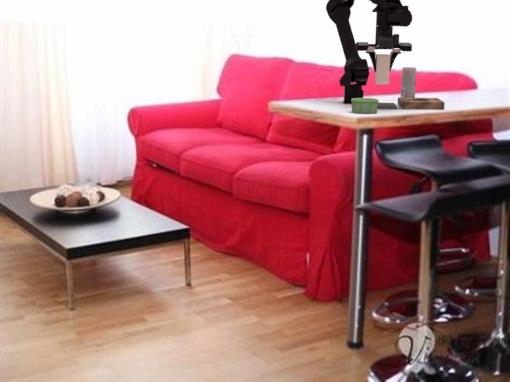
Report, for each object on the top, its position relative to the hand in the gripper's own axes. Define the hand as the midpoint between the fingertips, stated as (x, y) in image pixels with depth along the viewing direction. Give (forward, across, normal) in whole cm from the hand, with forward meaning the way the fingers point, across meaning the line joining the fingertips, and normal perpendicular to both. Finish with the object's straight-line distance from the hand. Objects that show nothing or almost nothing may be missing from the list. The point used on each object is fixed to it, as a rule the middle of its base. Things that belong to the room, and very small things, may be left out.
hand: (382, 72), depth 265 cm
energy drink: (+12, +13, +26) cm, 32 cm away
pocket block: (+12, +14, +2) cm, 19 cm away
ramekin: (+12, -7, -15) cm, 21 cm away
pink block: (+4, 0, 0) cm, 4 cm away
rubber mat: (+12, 0, 0) cm, 12 cm away
